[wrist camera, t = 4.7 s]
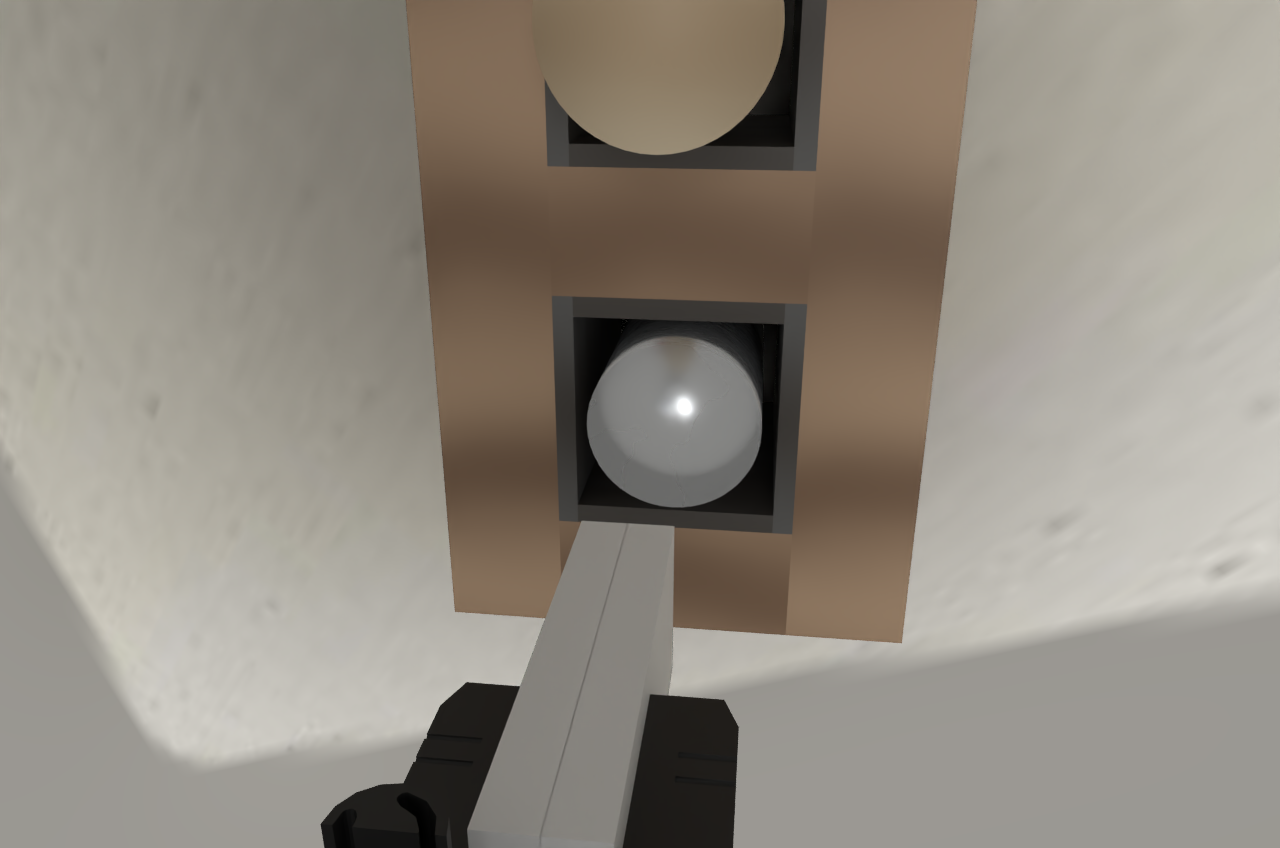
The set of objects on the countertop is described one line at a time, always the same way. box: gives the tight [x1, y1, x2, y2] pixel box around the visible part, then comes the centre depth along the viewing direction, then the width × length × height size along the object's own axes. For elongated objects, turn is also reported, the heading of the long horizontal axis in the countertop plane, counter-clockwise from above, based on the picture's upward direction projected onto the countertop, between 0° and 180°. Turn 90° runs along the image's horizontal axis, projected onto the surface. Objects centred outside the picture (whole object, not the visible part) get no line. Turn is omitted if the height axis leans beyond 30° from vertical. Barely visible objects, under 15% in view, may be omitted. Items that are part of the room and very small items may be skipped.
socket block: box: [406, 0, 977, 643], centre depth 26 cm, size 21×12×8 cm, turn 0°
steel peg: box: [587, 319, 764, 507], centre depth 27 cm, size 4×4×8 cm
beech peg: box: [532, 0, 785, 155], centre depth 20 cm, size 4×4×8 cm
